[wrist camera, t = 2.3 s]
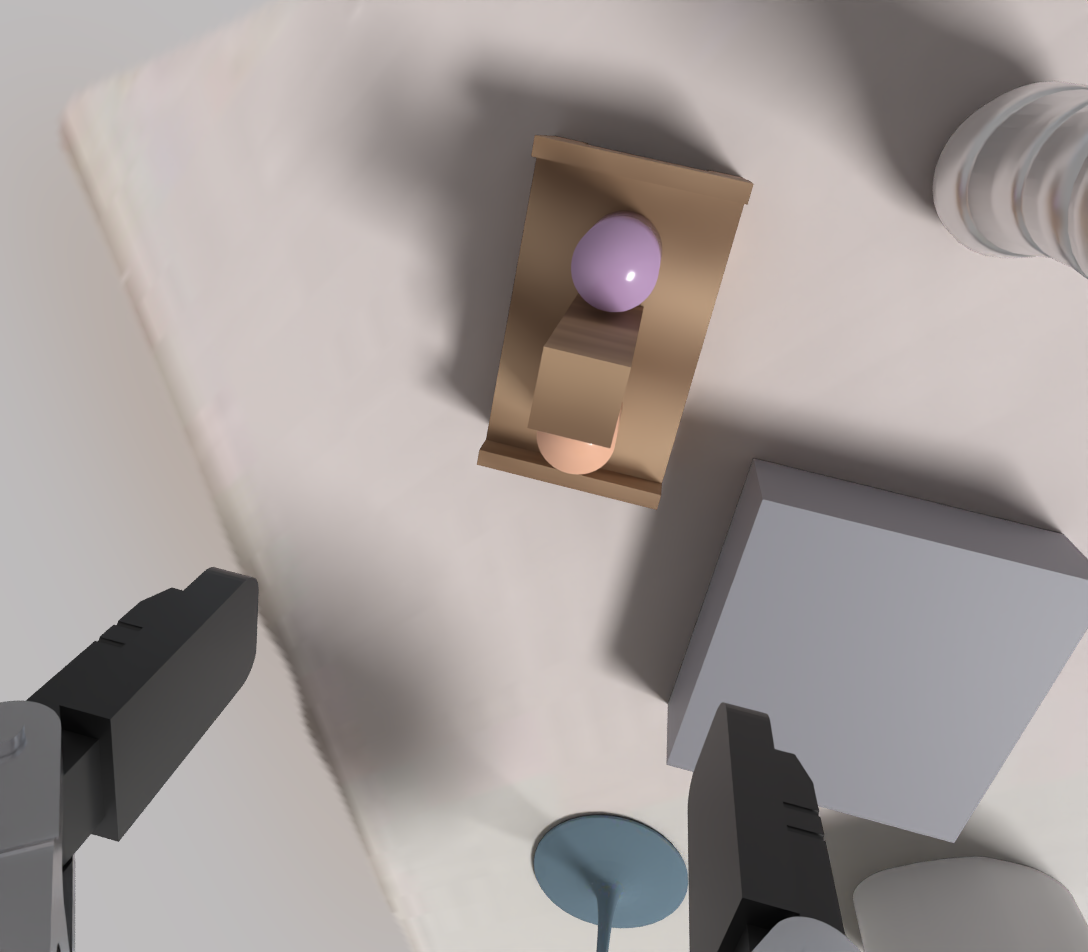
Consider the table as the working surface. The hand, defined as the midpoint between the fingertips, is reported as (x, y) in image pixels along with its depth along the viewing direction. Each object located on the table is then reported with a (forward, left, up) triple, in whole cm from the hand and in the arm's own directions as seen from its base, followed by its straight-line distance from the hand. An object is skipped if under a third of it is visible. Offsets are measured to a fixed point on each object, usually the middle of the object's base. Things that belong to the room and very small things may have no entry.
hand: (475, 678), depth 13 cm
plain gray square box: (+14, +17, -28) cm, 36 cm away
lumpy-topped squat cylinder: (+33, +32, -28) cm, 54 cm away
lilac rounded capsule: (-4, 0, -25) cm, 25 cm away
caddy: (0, 0, -28) cm, 28 cm away
